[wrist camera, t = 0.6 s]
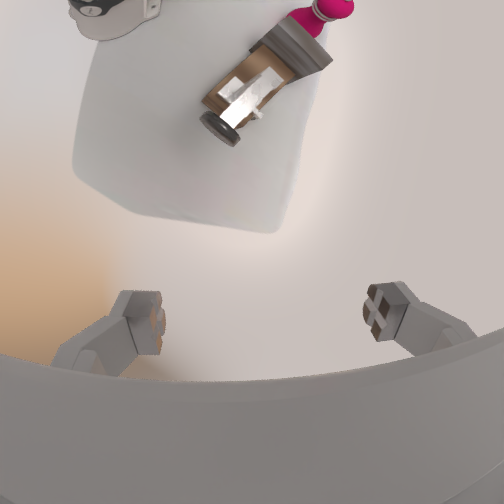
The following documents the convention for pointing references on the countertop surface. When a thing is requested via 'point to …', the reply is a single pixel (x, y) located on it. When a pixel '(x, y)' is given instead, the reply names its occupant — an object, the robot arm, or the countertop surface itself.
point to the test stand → (275, 62)
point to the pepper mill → (321, 14)
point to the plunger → (240, 104)
